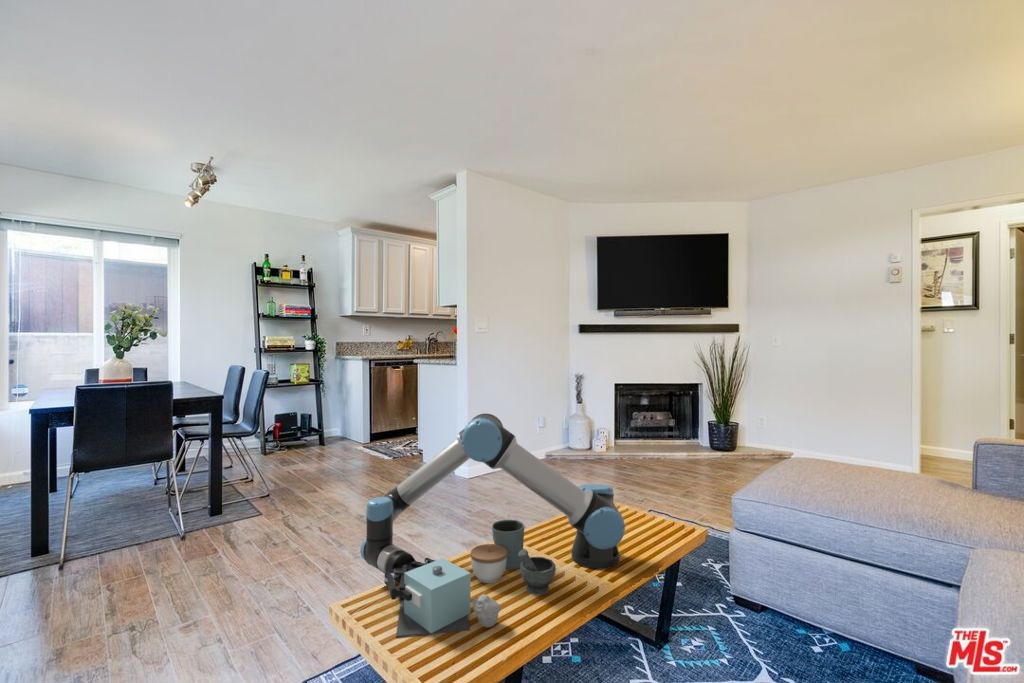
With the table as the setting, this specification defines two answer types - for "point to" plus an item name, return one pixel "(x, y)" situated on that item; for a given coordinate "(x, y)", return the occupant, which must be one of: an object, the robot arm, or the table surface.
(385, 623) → the table surface
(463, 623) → the rubber mat
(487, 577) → the lidded jar
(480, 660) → the table surface
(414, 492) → the robot arm
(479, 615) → the grey lumpy rounded piece
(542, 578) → the mortar and pestle
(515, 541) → the grey green cylindrical pot
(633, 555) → the table surface
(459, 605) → the cover tub
